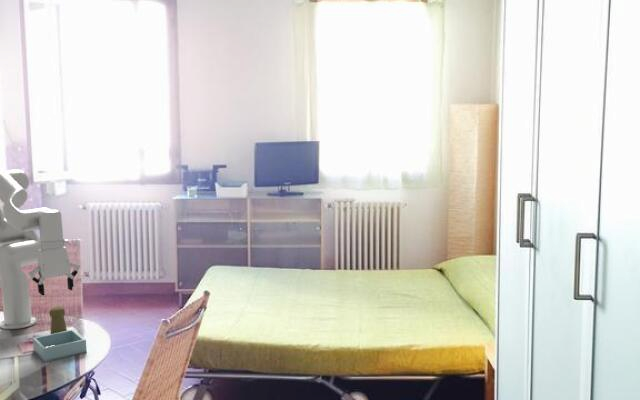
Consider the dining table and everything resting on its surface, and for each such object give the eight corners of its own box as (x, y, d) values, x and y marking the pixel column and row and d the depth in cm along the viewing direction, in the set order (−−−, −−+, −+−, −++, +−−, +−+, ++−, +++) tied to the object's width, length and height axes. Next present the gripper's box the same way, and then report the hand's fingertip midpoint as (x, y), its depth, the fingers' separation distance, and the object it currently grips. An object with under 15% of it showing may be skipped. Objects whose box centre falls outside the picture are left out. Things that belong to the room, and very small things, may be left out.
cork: (61, 340, 237) (59, 310, 236) (46, 339, 239) (44, 309, 237) (71, 334, 243) (69, 305, 242) (56, 333, 245) (54, 304, 243)
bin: (33, 350, 228) (32, 337, 227) (74, 341, 236) (73, 329, 236) (44, 362, 217) (43, 349, 217) (86, 352, 225) (85, 339, 225)
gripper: (73, 240, 244) (77, 285, 246) (23, 247, 234) (28, 294, 236) (80, 242, 238) (84, 289, 240) (29, 250, 228) (33, 299, 230)
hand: (56, 292), depth 238 cm, fingers open, 9 cm apart
